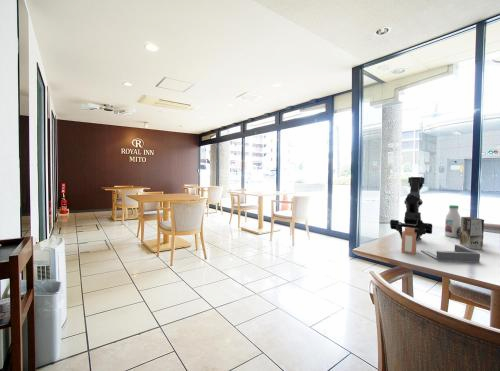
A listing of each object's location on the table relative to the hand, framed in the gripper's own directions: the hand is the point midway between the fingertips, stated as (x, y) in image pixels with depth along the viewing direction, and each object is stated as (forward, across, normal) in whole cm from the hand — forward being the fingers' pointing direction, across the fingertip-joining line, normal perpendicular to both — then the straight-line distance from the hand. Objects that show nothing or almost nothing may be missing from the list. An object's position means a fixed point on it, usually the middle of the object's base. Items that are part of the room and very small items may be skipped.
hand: (409, 239), depth 130 cm
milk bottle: (-36, +19, +45) cm, 61 cm away
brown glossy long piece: (-29, +27, +39) cm, 56 cm away
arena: (+1, +16, +8) cm, 18 cm away
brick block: (+4, 0, +6) cm, 7 cm away
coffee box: (-19, +27, +29) cm, 44 cm away
